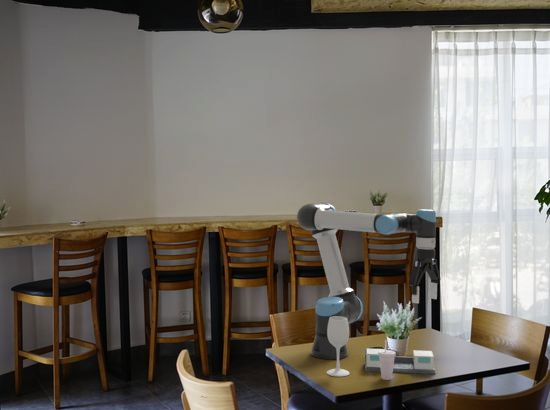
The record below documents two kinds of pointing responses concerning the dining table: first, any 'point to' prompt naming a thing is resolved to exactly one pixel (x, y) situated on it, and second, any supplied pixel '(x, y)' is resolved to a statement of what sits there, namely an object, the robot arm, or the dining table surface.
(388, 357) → the smoothie
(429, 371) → the rail plate
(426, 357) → the mounted modules
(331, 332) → the wineglass
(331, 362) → the dining table surface
